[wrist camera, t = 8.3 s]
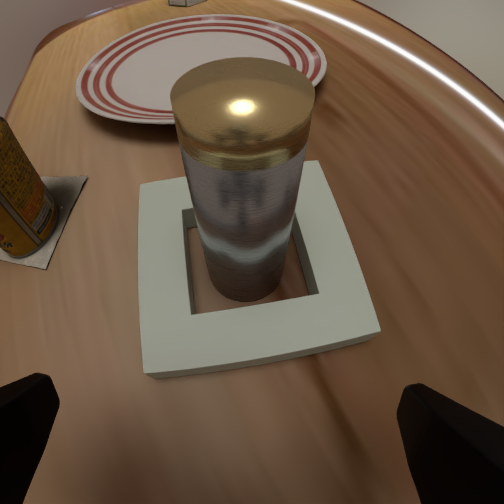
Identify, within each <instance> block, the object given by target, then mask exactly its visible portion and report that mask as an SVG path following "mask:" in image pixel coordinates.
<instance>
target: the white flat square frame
mask: <svg viewBox="0 0 504 504" xmlns="http://www.w3.org/2000/svg"><path fill="white" fill-rule="evenodd" d="M192 227H197V222H196V218H195V214H194V209H193V205H192V201H191V196H190V192H189V188H188V183H187V178H186V176H185V177H179V178H173V179H167V180H161V181H156V182H150V183H145V184H140V197H139V225H138V286H139V313H140V332H141V346H142V359H143V370H144V374H146V375H148V376H150V377H152V378H154V379H159V378H169V377H178V376H187V375H195V374H203V373H211V372H218V371H225V370H231V369H238V368H244V367H250V366H256V365H261V364H267V363H272V362H278V361H283V360H288V359H293V358H298V357H302V356H307V355H311V354H316V353H320V352H325V351H329V350H333V349H337V348H341V347H345V346H349V345H353V344H357V343H361V342H365V341H368V340H369V339H371V338H372V337H373V336H375V335H376V334H377V333H379V332H380V331H381V330H380V326H379V323H378V320H377V317H376V313H375V310H374V307H373V304H372V301H371V298H370V295H369V292H368V289H367V286H366V283H365V280H364V277H363V274H362V271H361V268H360V266H359V263H358V260H357V257H356V254H355V252H354V249H353V246H352V243H351V241H350V238H349V235H348V233H347V230H346V228H345V225H344V222H343V220H342V217H341V215H340V212H339V210H338V207H337V205H336V202H335V200H334V197H333V195H332V193H331V190H330V188H329V185H328V183H327V181H326V178H325V176H324V174H323V171H322V169H321V167H320V164H319V162H318V160H317V161H305V162H304V164H303V170H302V175H301V181H300V186H299V191H298V197H297V202H296V207H295V212H294V218H293V223H292V228H291V231H292V234H293V238H294V241H295V245H296V248H297V252H298V255H299V259H300V262H301V266H302V270H303V273H304V277H305V280H306V284H307V288H308V291H309V295H310V296H304V297H299V298H293V299H288V300H282V301H277V302H271V303H265V304H259V305H253V306H247V307H241V308H235V309H228V310H222V311H215V312H209V313H202V314H195V305H194V297H193V288H192V278H191V268H190V258H189V247H188V236H187V228H192Z"/></svg>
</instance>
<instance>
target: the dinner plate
mask: <svg viewBox="0 0 504 504" xmlns="http://www.w3.org/2000/svg"><path fill="white" fill-rule="evenodd" d="M234 57H254V58H263V59H269V60H274V61H277V62H281V63H284V64H286V65H289V66H291V67H293V68H295V69H297V70H298V71H300V72H302V73H303V74H304V75H305V76H306V77H307V78H308V79H309V80H310V81H311V83H312V84H313V86H314V87H315V86H316V85H317V84H318V83H319V82H320V81H321V80H322V78H323V77H324V75H325V72H326V67H327V61H326V58H325V55H324V53H323V51H322V50H321V48H320V47H319V46H318V45H317V44H316V43H315V42H314V41H313V40H312V39H310V38H309V37H308V36H306V35H305V34H303V33H301V32H300V31H298V30H296V29H294V28H291V27H289V26H286V25H284V24H281V23H278V22H274V21H271V20H266V19H262V18H257V17H250V16H243V15H227V14H212V15H196V16H188V17H181V18H175V19H170V20H166V21H161V22H158V23H154V24H151V25H148V26H145V27H142V28H140V29H137V30H135V31H132V32H130V33H128V34H126V35H124V36H122V37H120V38H118V39H116V40H115V41H113V42H111V43H110V44H108V45H107V46H105V47H104V48H103V49H101V50H100V51H99V52H98V53H96V54H95V55H94V56H93V57H92V58H91V59H90V60H89V61H88V62H87V63H86V65H85V66H84V67H83V69H82V70H81V72H80V74H79V76H78V78H77V81H76V87H75V90H76V95H77V98H78V99H79V101H80V102H81V103H82V105H83V106H85V107H86V108H87V109H88V110H90V111H92V112H94V113H96V114H98V115H100V116H103V117H106V118H110V119H114V120H120V121H127V122H133V123H147V124H175V121H174V116H173V111H172V106H171V100H170V93H171V89H172V87H173V85H174V84H175V82H176V81H177V80H178V79H179V78H180V77H181V76H182V75H183V74H185V73H186V72H188V71H189V70H191V69H193V68H195V67H197V66H200V65H202V64H205V63H208V62H211V61H215V60H220V59H226V58H234Z"/></svg>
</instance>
